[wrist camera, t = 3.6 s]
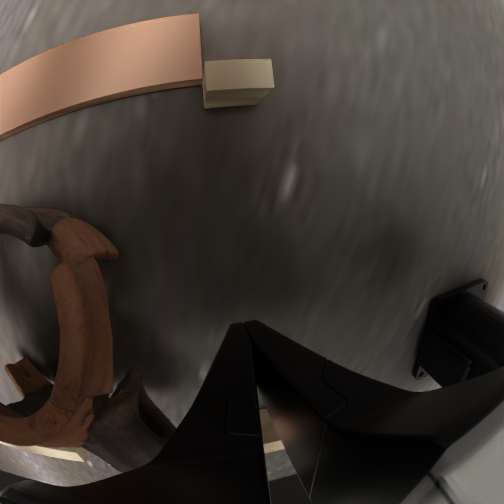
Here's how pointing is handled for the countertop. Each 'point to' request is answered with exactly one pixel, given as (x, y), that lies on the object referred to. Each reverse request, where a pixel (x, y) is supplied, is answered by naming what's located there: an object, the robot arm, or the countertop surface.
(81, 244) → the pottery mug
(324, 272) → the countertop surface
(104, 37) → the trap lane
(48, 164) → the countertop surface
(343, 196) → the countertop surface
